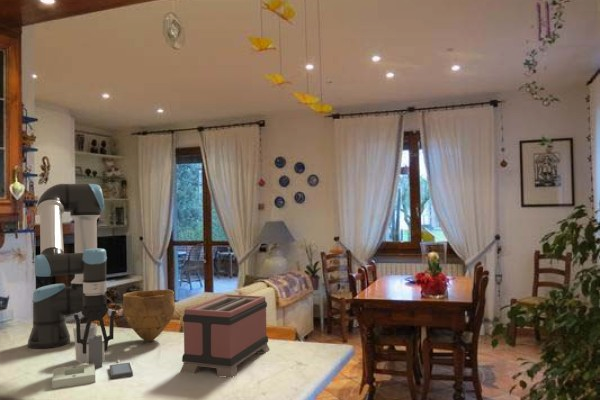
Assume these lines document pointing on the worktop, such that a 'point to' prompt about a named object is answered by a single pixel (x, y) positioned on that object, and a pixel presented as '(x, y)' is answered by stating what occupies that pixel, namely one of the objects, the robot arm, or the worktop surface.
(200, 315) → the toaster
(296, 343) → the worktop surface
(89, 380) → the outlet plate
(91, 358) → the block
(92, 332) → the cup
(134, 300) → the bowl
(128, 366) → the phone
